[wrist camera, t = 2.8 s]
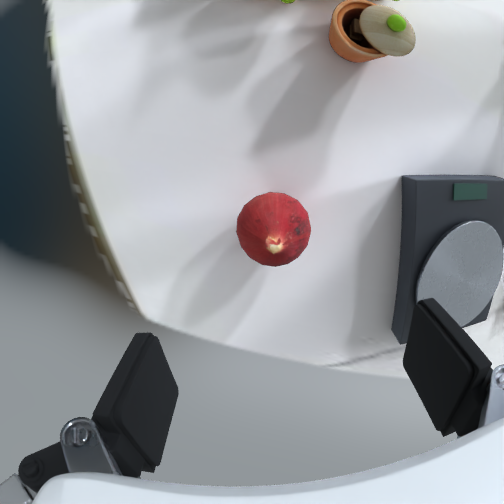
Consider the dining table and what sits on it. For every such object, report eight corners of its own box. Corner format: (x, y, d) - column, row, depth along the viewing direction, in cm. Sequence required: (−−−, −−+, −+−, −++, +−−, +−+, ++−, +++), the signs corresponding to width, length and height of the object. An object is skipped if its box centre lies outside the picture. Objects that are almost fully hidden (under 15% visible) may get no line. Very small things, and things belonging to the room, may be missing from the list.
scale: (401, 175, 24) (417, 180, 21) (493, 175, 23) (511, 180, 20) (391, 329, 31) (400, 346, 28) (475, 308, 30) (487, 321, 27)
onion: (295, 179, 25) (310, 194, 17) (309, 238, 27) (327, 275, 19) (232, 195, 26) (220, 217, 18) (249, 253, 28) (245, 295, 20)
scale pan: (421, 224, 22) (424, 226, 22) (507, 216, 22) (510, 217, 21) (406, 339, 27) (408, 342, 27) (487, 316, 26) (489, 318, 26)
